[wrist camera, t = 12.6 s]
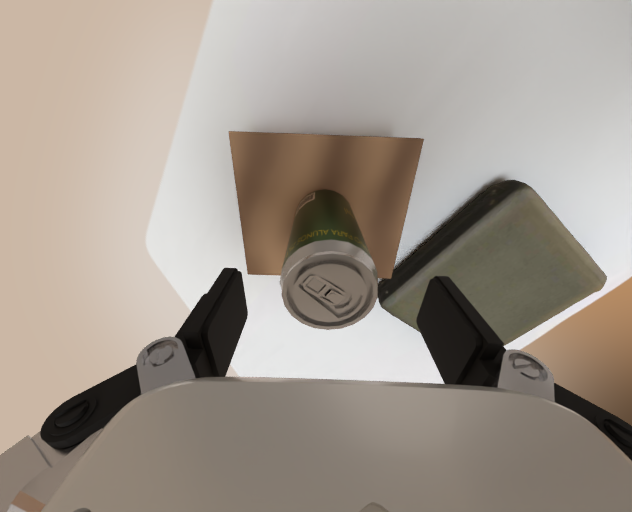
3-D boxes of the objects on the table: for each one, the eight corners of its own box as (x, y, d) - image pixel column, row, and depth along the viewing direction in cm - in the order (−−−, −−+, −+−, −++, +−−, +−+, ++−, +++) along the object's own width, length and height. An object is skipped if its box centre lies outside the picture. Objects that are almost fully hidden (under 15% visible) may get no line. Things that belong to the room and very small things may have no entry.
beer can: (285, 220, 23) (257, 303, 12) (318, 174, 20) (320, 227, 10) (328, 250, 24) (336, 345, 14) (363, 210, 22) (405, 287, 12)
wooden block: (397, 135, 25) (423, 138, 19) (376, 249, 32) (391, 278, 26) (250, 129, 25) (228, 131, 19) (261, 245, 32) (247, 274, 26)
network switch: (362, 297, 37) (368, 321, 32) (479, 160, 27) (510, 167, 22) (467, 346, 42) (484, 372, 38) (596, 248, 32) (640, 267, 28)
